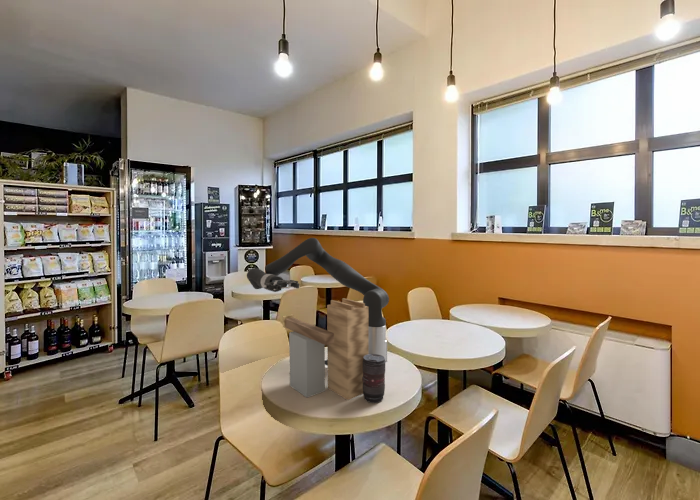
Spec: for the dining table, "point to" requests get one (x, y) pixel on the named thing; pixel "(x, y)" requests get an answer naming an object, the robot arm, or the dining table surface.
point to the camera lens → (373, 377)
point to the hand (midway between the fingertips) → (289, 287)
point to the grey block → (306, 364)
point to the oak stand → (347, 346)
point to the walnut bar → (308, 330)
